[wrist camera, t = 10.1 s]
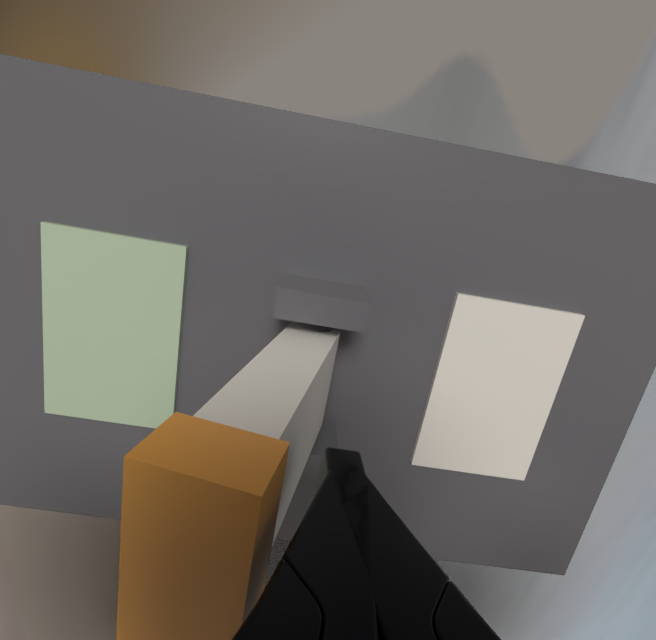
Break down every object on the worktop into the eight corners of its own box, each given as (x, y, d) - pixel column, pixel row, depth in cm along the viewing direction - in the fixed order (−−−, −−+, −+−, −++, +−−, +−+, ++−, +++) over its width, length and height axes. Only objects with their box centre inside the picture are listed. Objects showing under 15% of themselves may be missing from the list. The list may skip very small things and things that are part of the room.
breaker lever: (331, 420, 13) (232, 684, 6) (277, 406, 13) (116, 644, 6) (350, 325, 12) (261, 496, 5) (291, 311, 12) (124, 455, 5)
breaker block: (526, 516, 19) (598, 627, 14) (20, 448, 17) (-96, 546, 12) (648, 197, 15) (807, 198, 10) (5, 71, 13) (-175, 1, 8)
